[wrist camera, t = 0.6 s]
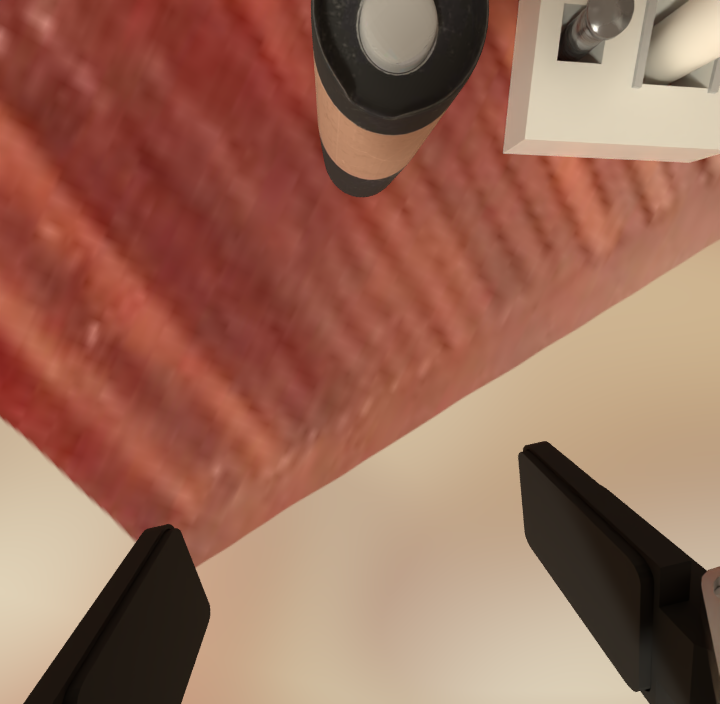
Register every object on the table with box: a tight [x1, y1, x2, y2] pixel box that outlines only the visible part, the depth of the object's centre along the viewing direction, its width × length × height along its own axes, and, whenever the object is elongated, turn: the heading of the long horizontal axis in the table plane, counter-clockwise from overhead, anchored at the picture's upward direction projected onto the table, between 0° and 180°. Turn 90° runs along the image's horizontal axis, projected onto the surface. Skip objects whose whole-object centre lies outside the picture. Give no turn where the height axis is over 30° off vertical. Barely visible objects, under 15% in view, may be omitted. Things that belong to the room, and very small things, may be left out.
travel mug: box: [311, 0, 489, 197], centre depth 24 cm, size 8×8×20 cm
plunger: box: [557, 0, 634, 62], centre depth 29 cm, size 4×4×5 cm
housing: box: [503, 0, 720, 163], centre depth 31 cm, size 16×20×4 cm
